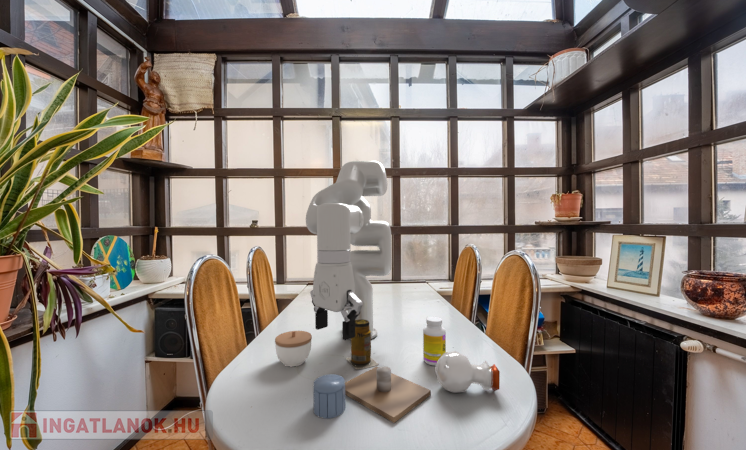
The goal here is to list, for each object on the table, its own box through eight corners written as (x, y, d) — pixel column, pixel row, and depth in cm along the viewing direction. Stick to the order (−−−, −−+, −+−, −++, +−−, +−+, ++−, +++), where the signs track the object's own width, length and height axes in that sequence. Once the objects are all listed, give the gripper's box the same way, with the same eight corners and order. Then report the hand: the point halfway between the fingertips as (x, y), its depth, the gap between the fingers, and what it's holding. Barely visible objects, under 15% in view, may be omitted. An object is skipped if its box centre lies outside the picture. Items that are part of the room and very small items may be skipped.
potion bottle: (431, 391, 78) (490, 400, 77) (438, 386, 70) (504, 396, 69) (431, 353, 83) (487, 361, 82) (438, 344, 75) (500, 353, 74)
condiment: (366, 354, 97) (366, 316, 97) (378, 365, 90) (378, 324, 90) (345, 358, 94) (345, 320, 94) (356, 370, 87) (355, 328, 87)
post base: (338, 390, 76) (338, 368, 76) (376, 370, 87) (376, 350, 86) (394, 423, 64) (393, 396, 64) (430, 395, 74) (430, 371, 74)
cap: (307, 408, 69) (307, 382, 69) (331, 395, 74) (331, 371, 74) (326, 422, 64) (326, 394, 64) (351, 407, 69) (351, 381, 69)
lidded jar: (319, 361, 92) (318, 330, 92) (287, 374, 85) (287, 341, 85) (299, 351, 100) (298, 323, 100) (268, 362, 92) (268, 331, 92)
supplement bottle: (446, 367, 88) (445, 323, 88) (422, 365, 89) (422, 321, 89) (445, 357, 95) (445, 316, 94) (423, 355, 96) (423, 315, 96)
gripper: (298, 256, 73) (299, 328, 73) (346, 262, 61) (347, 348, 61) (324, 254, 78) (324, 321, 78) (373, 259, 66) (373, 338, 66)
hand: (334, 333), depth 69 cm, fingers open, 9 cm apart
